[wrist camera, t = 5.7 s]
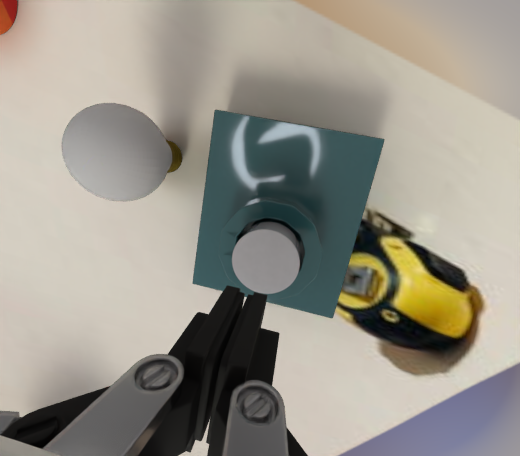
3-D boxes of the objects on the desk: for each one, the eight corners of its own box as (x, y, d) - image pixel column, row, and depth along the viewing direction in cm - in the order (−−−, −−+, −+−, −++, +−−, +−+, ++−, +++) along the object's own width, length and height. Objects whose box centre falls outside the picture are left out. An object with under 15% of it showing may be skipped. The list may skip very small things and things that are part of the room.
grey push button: (245, 215, 19) (237, 222, 17) (306, 228, 19) (306, 237, 16) (235, 271, 20) (227, 285, 18) (292, 285, 20) (291, 301, 18)
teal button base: (226, 116, 22) (204, 103, 17) (374, 142, 21) (394, 136, 16) (204, 270, 26) (181, 294, 21) (329, 300, 25) (335, 334, 20)
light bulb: (216, 146, 23) (153, 135, 13) (184, 203, 25) (107, 229, 15) (159, 107, 23) (55, 67, 13) (130, 166, 25) (19, 168, 15)
